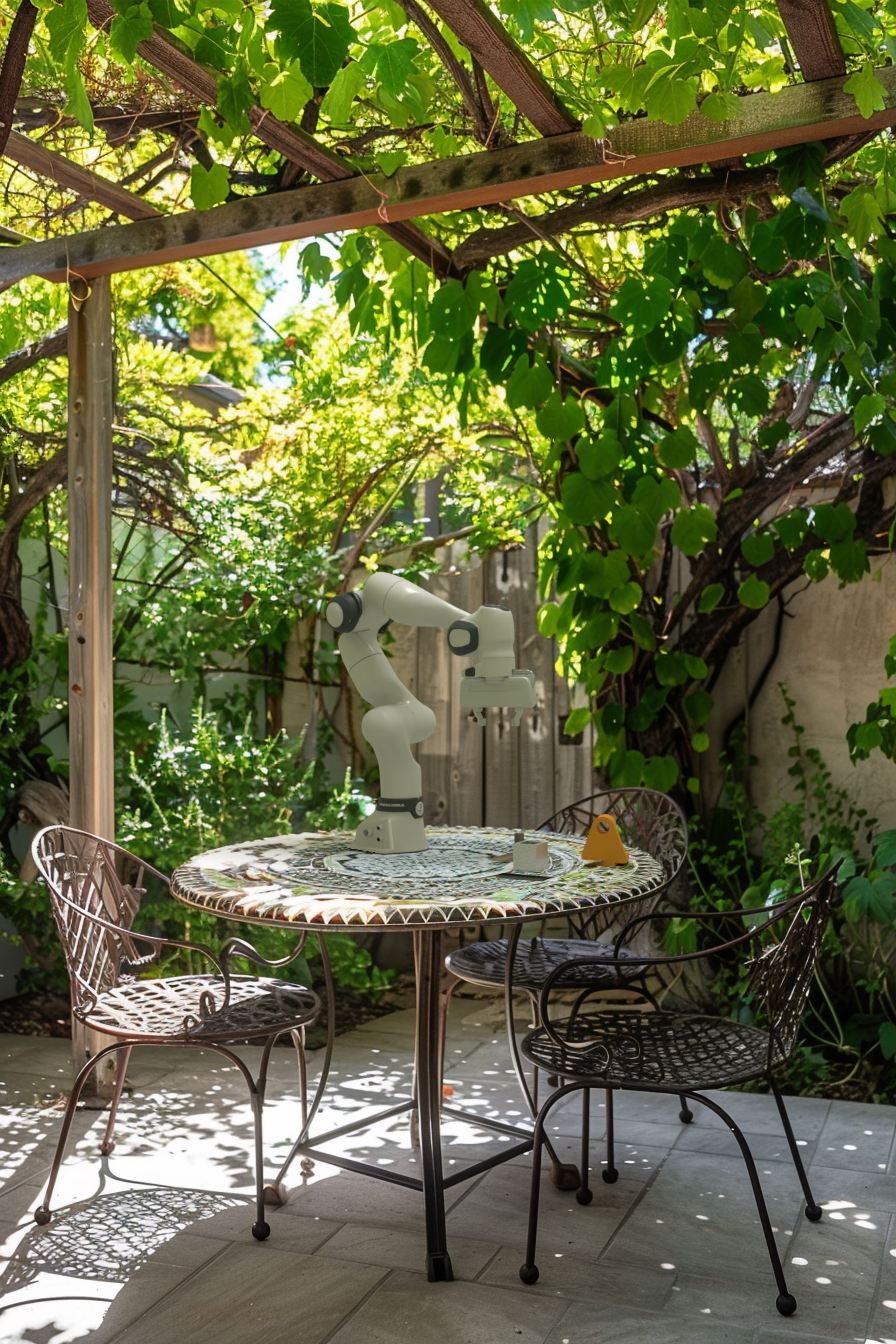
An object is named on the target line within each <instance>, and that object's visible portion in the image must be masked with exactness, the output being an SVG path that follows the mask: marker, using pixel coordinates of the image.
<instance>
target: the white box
mask: <svg viewBox="0 0 896 1344" xmlns="http://www.w3.org/2000/svg"><path fill="white" fill-rule="evenodd" d="M548 842H549V841H543V840H527V839H524V841H521V842H517V843H514V842H513V843H512V853H513V862H512V866H513V867H512V870H513V871H517V872H518V871H519V872H532V873H537V872H540V871H543V870H547V869H549V857H548V855H549V847H548V846H549V845H548ZM521 874H522V873H521ZM522 875H525V874H524V873H523V874H522ZM533 875H534V876H537V875H535V874H533Z"/></svg>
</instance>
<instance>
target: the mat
mask: <svg viewBox="0 0 896 1344" xmlns="http://www.w3.org/2000/svg"><path fill="white" fill-rule="evenodd" d="M495 875H496V876H495V877H496V879H497V878H498V879H508V880H509V879H510V880H520V881H531V882H532V881H533V882H544V881H547V880H550V879H553V878H554V876H547V875H546V876H545V875H536V876H534V875H535V874H524V875H522V873H509V872H502V873H499V874H495Z"/></svg>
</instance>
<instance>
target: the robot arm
mask: <svg viewBox="0 0 896 1344" xmlns="http://www.w3.org/2000/svg"><path fill="white" fill-rule="evenodd" d="M324 616H325V621H326V623H327V625H328V627H329V628H330V629H331V630H333V631H334V632H337V633H342V634H341V635H340V637H339V639H338V641H337V646H338V650H339V653H340V656H341V659H342V662H343V665H344V666H345V669H346V670H347V672H348V675H349V676H350V678H351V680H352V682H353V684H354V686H355V688H356V690H357V691H358V693H359V695H360V697H361V698H362V699H363V700H364V701H366V702H367V703H369V704H370V705H371V706H373V707H374V708H372V709H370V710H368V711H367V712H366V713H365V714H364V716H363V717H362V721H361V726H360V727H361V733H362V735H363V737H364V739H365V741H367V742H368V743H369V745H371V747H372V749H373V752H374V754H375V757H376V759H377V763H378V769H379V785H380V796H379V797H378V798H376V799H373V800H372V802H373V803H372V805H376V806H375V810H374V811H373V812H372V813H371V814H370V815H369V816H367V817H366V818H365V819H364V820H363V821H361V823H359V824H358V826H357V827H356V831H355V839H354V842H351V843H349V844H347V845H346V846H347V847H346V849H347V848H353V849H358V850H364V851H363V852H366V851H369V852H368V853H373V852H375V853H376V854H385V855H387V854H397V853H411V852H412V853H413V852H420V851H421V852H422V851H425V850H428V849H429V848H430V846H429V843H428V840H427V834H426V829H425V824H424V823H425V822H424V814H425V813H424V811H425V809H424V808H425V805H424V804H425V803H424V796H423V795H422V793H423V792H422V790H423V788H422V768H421V765H420V764H419V763H418V761H416V760H415V758H414V755H413V753H412V749H411V745H412V744H417V743H420V742H422V741H425V740H426V739H428V738H430V737H432V736H433V734H434V733H435V730H436V727H437V719H436V715H435V713H434V712H433V710H432V709H431V708H430V706H429V707H428V706H427V705H426V704H423V703H422V702H421V701H420V700H418V699H417V698H416V696H414V694H413V693H412V692H410V690H409V689H408V688H407V687H406V686H405V685H404V684H403V682H402V681H401V680H400V679H399V677H398V676H397V674H396V672H395V671H394V669H393V667H392V666H391V663H390V661H389V659H387V658H388V657H386V655H385V653H384V651H383V650H382V647H380V644H379V642H378V634H379V635H380V634H381V635H383V634H385V633H386V632H387V630H388V629H389V626H391V624H393V623H394V622H396V623H399V624H402V625H404V626H405V625H406V626H408V627H409V626H410V627H427V628H428V627H431V628H432V627H433V628H441V629H446V630H447V632H446V644H447V647H448V649H449V650H450V651H451V653H452V654H453V655H455V656H457V657H463V658H478V660H479V662H477V663H476V664H473V665H470V666H468V667H465V668H462V670H461V677H462V678H463V679H462V680H461V682H460V685H459V704H460V705H461V707H462V708H472V712H473V714H474V716H475V717H476V719H477V726H479V727H484V726H486V725H487V718H485V717H484V716H483V715H482V712H483V708H514V713H515V716H514V717H513V718H511V719H510V722H511V724H510V725H511V727H519V726H521V725H520V724H521V722H520V721H521V718H522V716H523V714H524V711H525V708H533V707H535V706H536V705H537V703H538V698H537V690H536V675H535V673H534V672H533V671H532V670H530V669H528V668H527V669H526V668H525V669H516V656H515V655H516V654H515V652H514V643H515V624H514V616H513V613H512V611H511V609H510V608H509V607H507V606H506V605H501V604H494V603H485V604H482V605H480V606H479V607H478V609H477V610H476V611H474V612H473V613H472V612H470V611H468V610H465V609H463V608H462V607H461V608H460V606H459V607H458V606H456V605H454V604H452V603H449V602H447V601H446V600H444V599H442V598H441V597H439V596H436V595H434V594H432V593H431V592H429V591H428V590H425V589H424V588H422V587H420V586H418V584H417V585H416V584H415V583H414V582H412V581H410V580H408V579H406V578H403V577H400V576H399V575H395V574H392V573H389V572H384V571H379V572H375V573H373V574H371V575H370V576H369V577H368V578H367V579H366V581H365V584H364V587H363V589H359V590H356V591H354V590H353V591H348V592H341V593H339V594H336V595H334V596H333V597H331V598H329V600H328V601H327V603H326V605H325V609H324ZM358 850H357V851H358ZM375 853H374V854H375Z"/></svg>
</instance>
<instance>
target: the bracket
mask: <svg viewBox="0 0 896 1344" xmlns="http://www.w3.org/2000/svg"><path fill="white" fill-rule="evenodd" d="M601 822H603V823H605V824H607V825H608V830H607V831H605V830H602V828H601V826H600V823H601ZM580 857H581V859H580V860H593V861H597V862H594V863H592V864H591V865H592V867H616V866H617V865H618V864H627V862H628V861H629V860H630V851H629V850H626V849H625V847H624V844H623V841H622V839H621V836H620V834H619V831H618V828H617V822H616V819H615V818H614V817H613V816H612V815H609V814H605V813H603V814H600V815H598V817H597V818H595V819H594V820H593V822H592V824H591V827H590V829H589V831H588V835H587V837H586V841H585V843H584V846H583V849H582V852H581V856H580Z"/></svg>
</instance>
